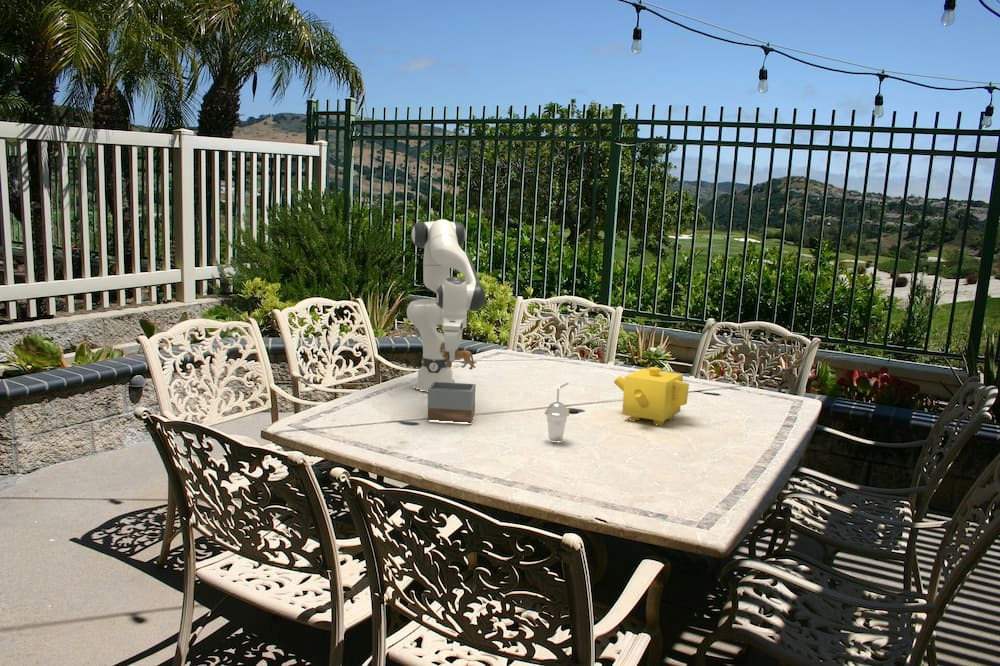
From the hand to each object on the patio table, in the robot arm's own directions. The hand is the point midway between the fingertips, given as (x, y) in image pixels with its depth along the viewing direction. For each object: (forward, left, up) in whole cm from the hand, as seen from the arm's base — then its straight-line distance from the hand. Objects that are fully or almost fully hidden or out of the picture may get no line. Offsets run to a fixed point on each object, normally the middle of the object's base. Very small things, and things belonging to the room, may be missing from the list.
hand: (453, 359), depth 297 cm
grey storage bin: (+1, 0, -17) cm, 17 cm away
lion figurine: (+1, +1, -3) cm, 3 cm away
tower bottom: (0, 0, -23) cm, 23 cm away
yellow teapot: (-17, +74, -23) cm, 79 cm away
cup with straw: (+20, +39, -23) cm, 49 cm away
